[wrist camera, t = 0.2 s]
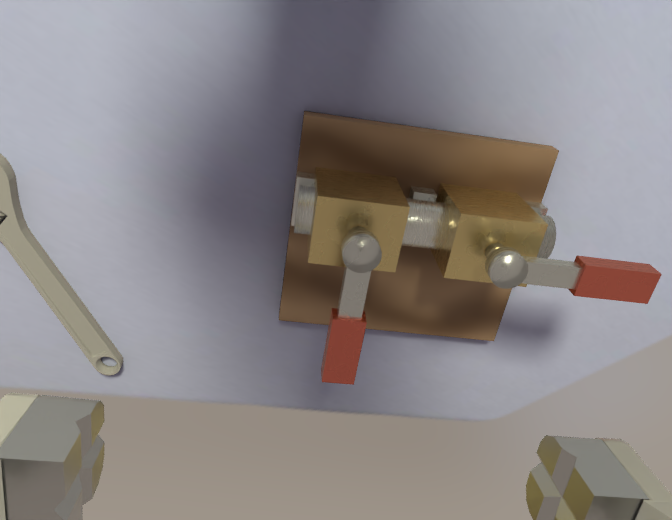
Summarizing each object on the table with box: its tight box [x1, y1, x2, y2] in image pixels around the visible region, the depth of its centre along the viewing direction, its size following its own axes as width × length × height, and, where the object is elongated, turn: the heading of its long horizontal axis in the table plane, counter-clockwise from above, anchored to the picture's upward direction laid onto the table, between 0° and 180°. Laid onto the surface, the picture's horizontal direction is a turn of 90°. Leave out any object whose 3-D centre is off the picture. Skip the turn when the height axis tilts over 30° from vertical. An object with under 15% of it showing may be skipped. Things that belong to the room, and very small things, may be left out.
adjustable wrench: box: [0, 154, 123, 375], centre depth 51 cm, size 25×6×2 cm, turn 16°
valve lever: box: [321, 230, 382, 385], centre depth 41 cm, size 13×3×2 cm, turn 171°
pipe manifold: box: [291, 167, 661, 304], centre depth 44 cm, size 6×28×10 cm, turn 81°
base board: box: [279, 111, 559, 341], centre depth 51 cm, size 20×22×2 cm
